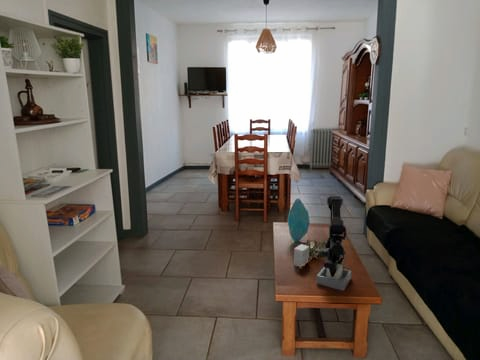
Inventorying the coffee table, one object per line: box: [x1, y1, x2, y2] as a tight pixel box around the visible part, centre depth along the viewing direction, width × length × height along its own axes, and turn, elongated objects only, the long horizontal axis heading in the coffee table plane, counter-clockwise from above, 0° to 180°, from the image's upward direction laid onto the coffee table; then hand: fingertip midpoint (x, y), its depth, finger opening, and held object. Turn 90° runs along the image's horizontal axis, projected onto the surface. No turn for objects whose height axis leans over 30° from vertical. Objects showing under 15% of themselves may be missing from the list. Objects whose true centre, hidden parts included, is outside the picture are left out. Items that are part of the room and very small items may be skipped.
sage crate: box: [326, 264, 344, 280], centre depth 187 cm, size 6×6×6 cm
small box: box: [293, 243, 310, 267], centre depth 206 cm, size 8×6×10 cm
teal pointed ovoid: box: [287, 197, 311, 243], centre depth 233 cm, size 12×14×30 cm
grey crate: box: [316, 266, 352, 292], centre depth 188 cm, size 14×14×4 cm
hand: (334, 273), depth 187 cm, fingers closed on sage crate, 6 cm apart
